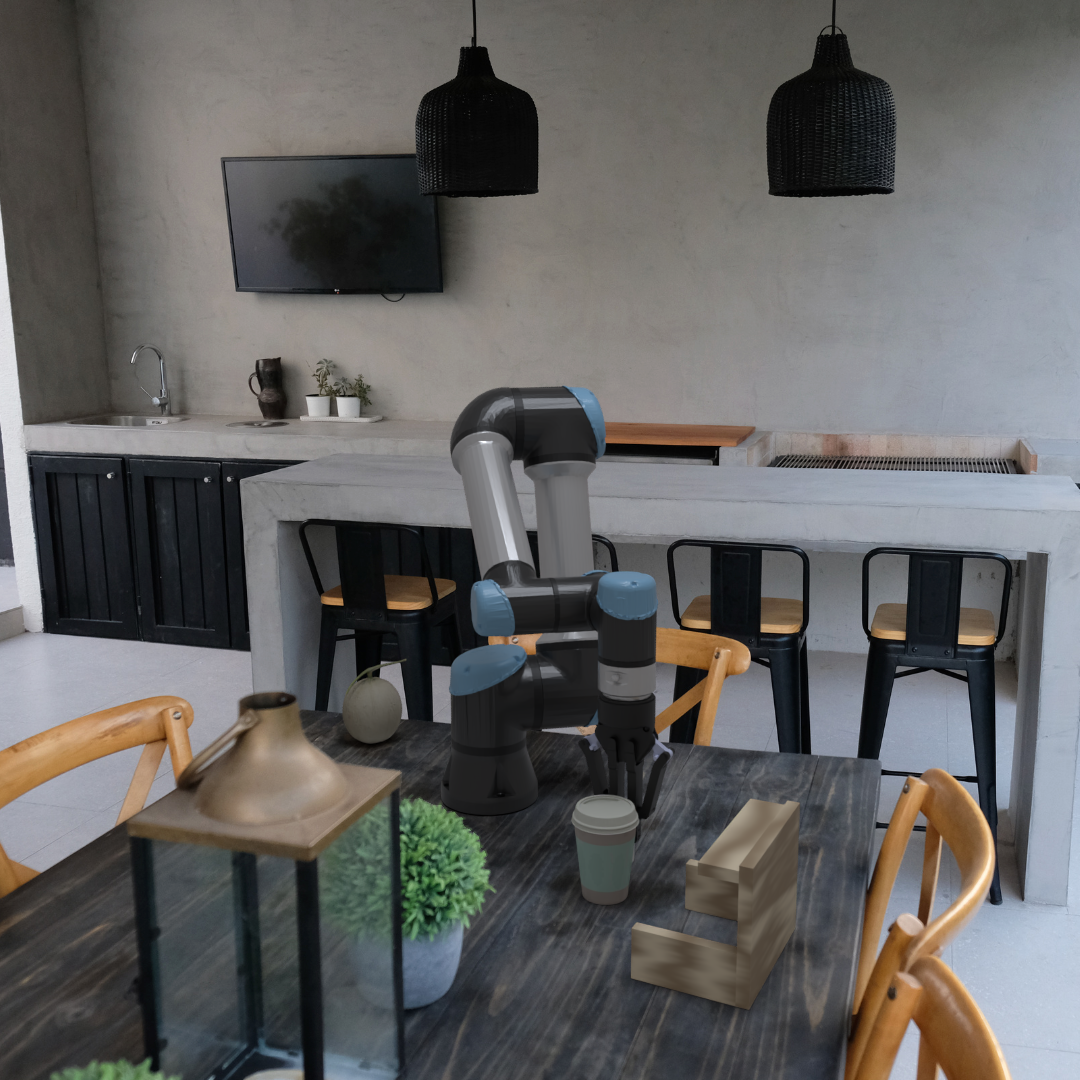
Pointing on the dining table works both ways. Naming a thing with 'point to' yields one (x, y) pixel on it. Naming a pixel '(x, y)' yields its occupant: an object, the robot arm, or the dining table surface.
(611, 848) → the coffee cup
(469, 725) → the robot arm
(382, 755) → the dining table surface
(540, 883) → the dining table surface
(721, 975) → the nook
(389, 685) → the fruit
